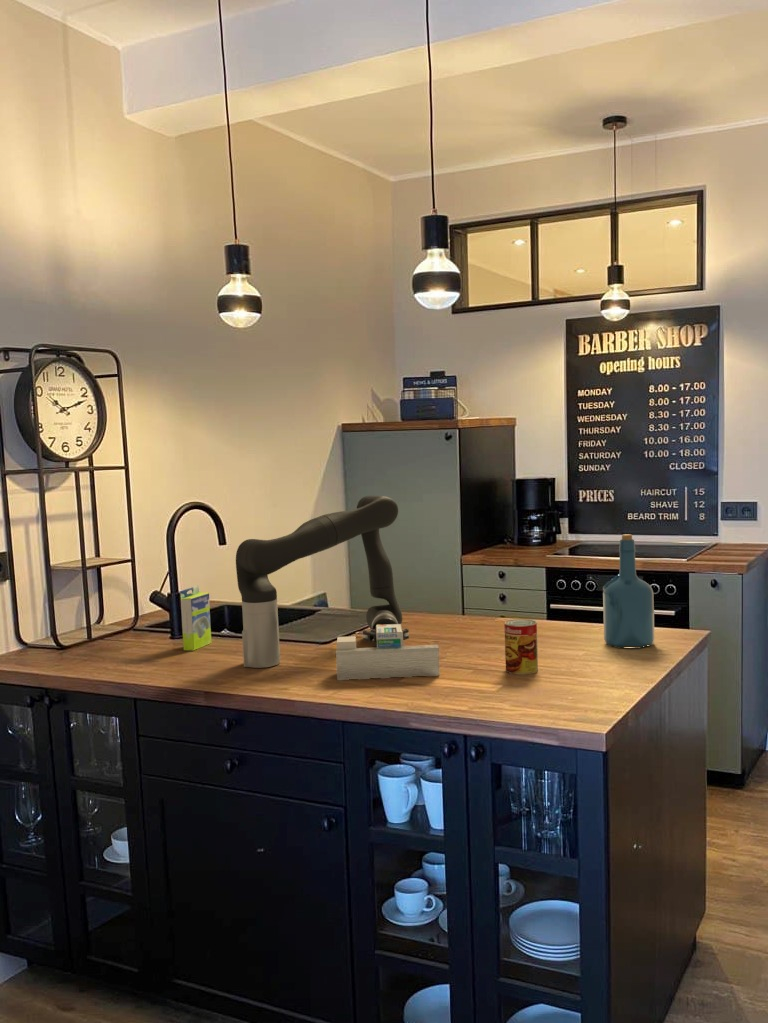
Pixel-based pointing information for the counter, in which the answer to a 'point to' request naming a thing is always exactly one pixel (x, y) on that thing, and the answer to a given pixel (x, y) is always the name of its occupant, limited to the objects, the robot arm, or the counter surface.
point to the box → (195, 619)
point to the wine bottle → (628, 603)
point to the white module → (346, 642)
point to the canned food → (521, 646)
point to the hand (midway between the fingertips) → (386, 641)
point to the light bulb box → (389, 635)
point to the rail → (387, 662)
